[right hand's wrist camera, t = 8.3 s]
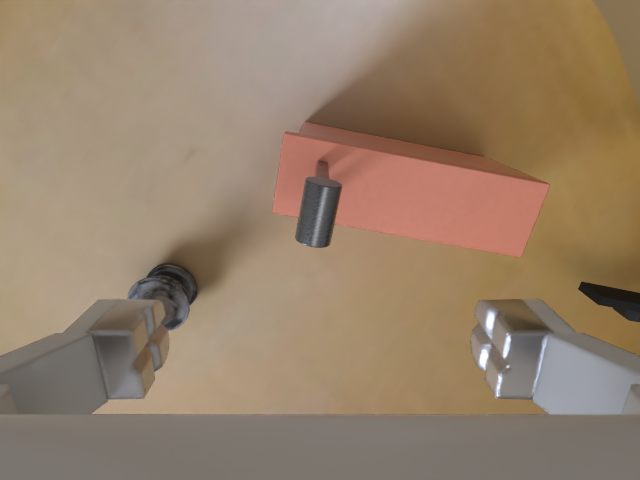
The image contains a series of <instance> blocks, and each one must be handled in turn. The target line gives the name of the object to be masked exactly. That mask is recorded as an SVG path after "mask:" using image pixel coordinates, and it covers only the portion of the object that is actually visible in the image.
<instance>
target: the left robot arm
mask: <svg viewBox="0 0 640 480" xmlns="http://www.w3.org/2000/svg"><path fill="white" fill-rule="evenodd" d="M578 289H579V290H580V291H581V292H583V293H584V294H585V295H586V296H588V297H589V298H590V299H592V300H593V301H594V302H595V303H597V304H598V305H603V306H608V307H613V309H614V310H615V311H617V312H618V313H619V314H621V315H622V316H623V317H625V318H626V319H628V320H630V321H636V322H640V293H637V292H632V291H627V290H621V289H616V288H611V287H606V286H601V285H596V284H591V283H586V282H581V284H580V286H579V288H578Z"/></svg>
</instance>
